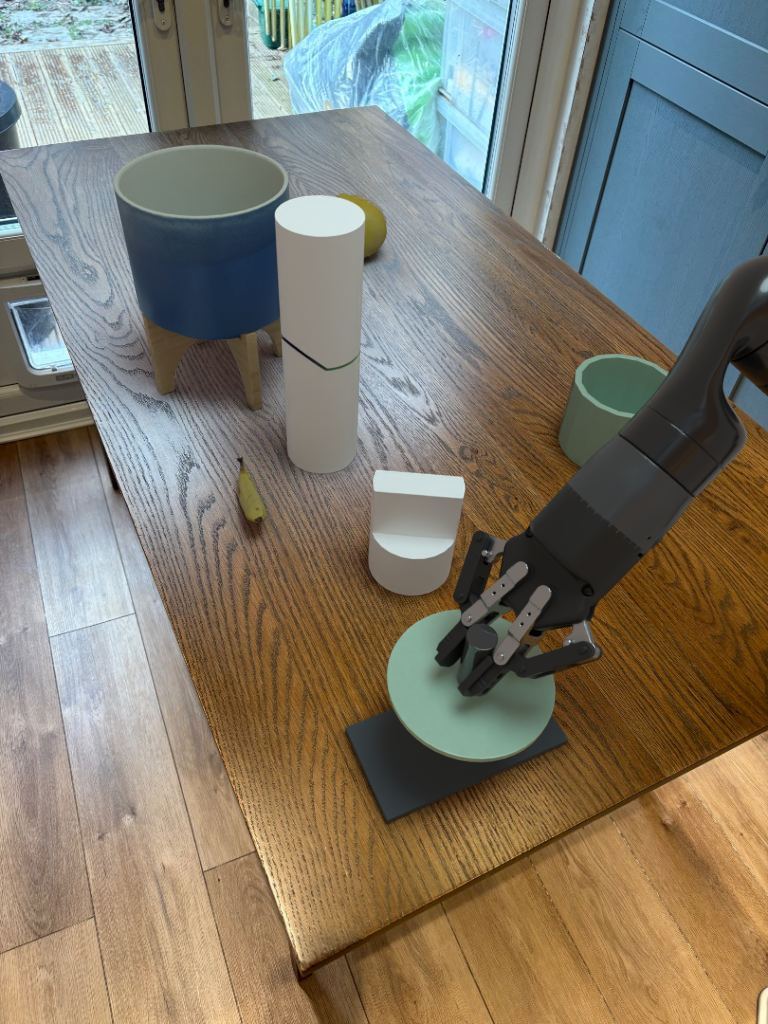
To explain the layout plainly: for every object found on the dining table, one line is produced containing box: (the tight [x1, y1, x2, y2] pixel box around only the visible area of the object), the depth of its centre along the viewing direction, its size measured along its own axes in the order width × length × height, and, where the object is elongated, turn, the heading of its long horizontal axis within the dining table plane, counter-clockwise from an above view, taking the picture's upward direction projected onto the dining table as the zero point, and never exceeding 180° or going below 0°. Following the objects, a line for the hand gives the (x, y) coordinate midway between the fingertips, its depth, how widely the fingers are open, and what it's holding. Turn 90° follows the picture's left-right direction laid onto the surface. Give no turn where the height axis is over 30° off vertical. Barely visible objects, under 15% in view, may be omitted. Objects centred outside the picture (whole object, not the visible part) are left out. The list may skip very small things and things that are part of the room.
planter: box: [113, 144, 290, 411], centre depth 93 cm, size 19×19×26 cm
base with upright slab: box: [367, 469, 466, 597], centre depth 77 cm, size 9×9×12 cm
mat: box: [344, 708, 569, 824], centre depth 67 cm, size 18×9×1 cm, turn 115°
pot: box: [557, 353, 669, 468], centre depth 93 cm, size 13×13×10 cm
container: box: [275, 194, 365, 475], centre depth 82 cm, size 9×9×30 cm
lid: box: [386, 609, 556, 762], centre depth 59 cm, size 14×14×7 cm
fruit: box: [334, 192, 388, 259], centre depth 124 cm, size 10×11×10 cm
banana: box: [236, 456, 267, 524], centre depth 84 cm, size 10×2×4 cm, turn 19°
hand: (454, 677), depth 58 cm, fingers closed on lid, 2 cm apart
